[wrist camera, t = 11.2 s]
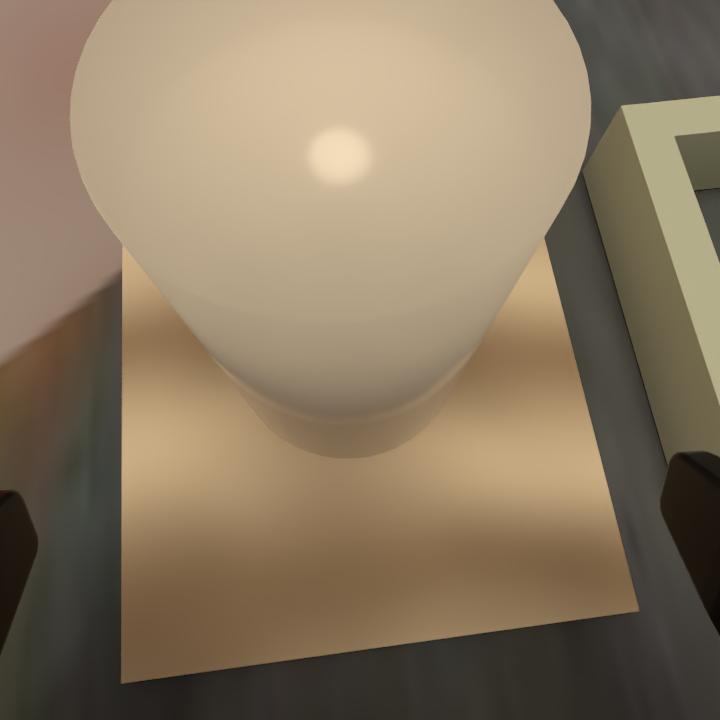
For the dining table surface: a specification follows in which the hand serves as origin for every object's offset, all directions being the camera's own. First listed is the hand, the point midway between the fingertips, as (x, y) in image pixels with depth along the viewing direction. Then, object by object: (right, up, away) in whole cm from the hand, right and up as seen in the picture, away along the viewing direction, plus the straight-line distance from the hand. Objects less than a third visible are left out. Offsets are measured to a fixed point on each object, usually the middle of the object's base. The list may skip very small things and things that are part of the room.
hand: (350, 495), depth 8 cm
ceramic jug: (0, +2, +9) cm, 9 cm away
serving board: (0, +2, +9) cm, 9 cm away
